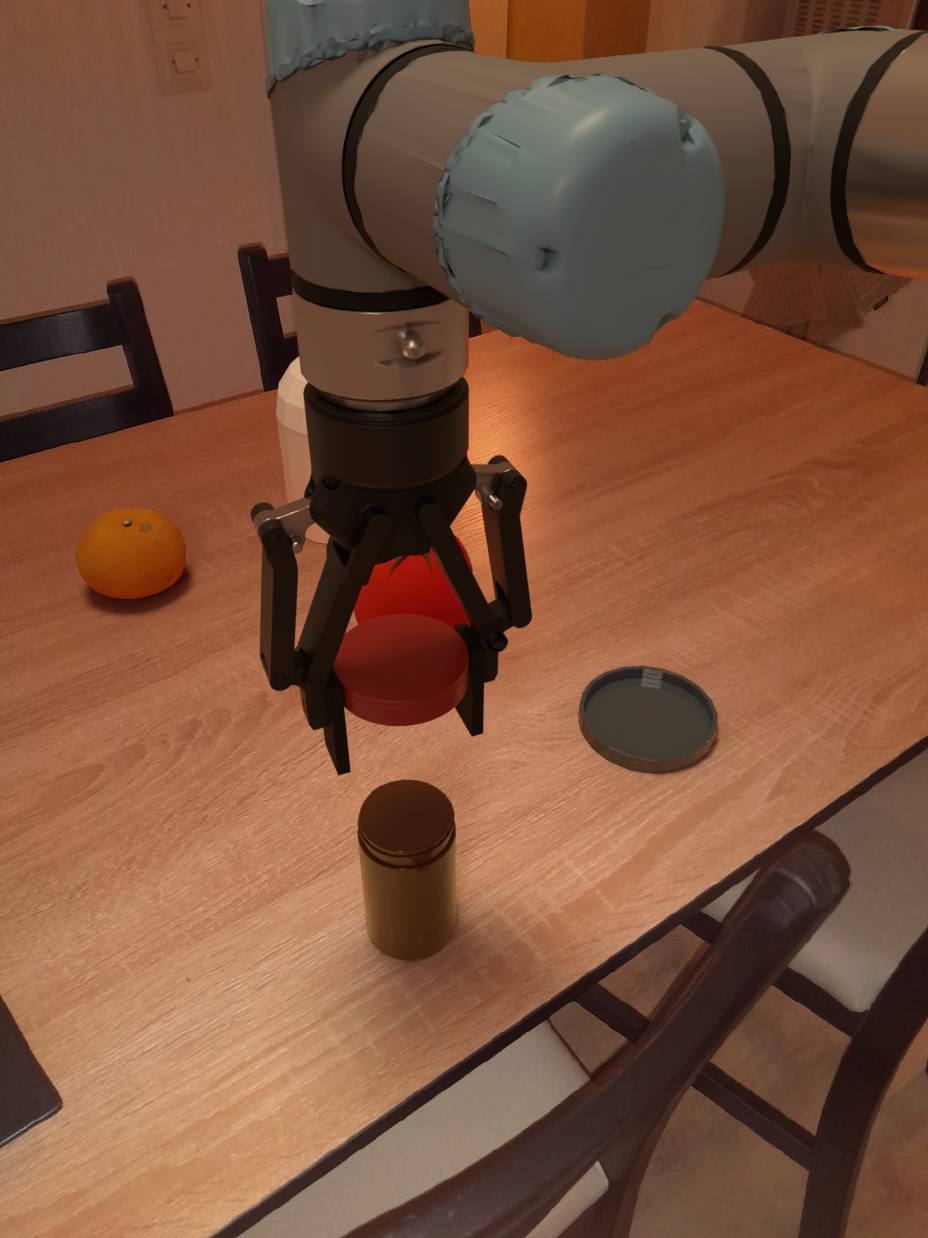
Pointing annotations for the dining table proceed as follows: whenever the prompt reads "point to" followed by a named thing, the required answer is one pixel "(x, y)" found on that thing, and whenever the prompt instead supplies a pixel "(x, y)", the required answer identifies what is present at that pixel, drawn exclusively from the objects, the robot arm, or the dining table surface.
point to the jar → (408, 868)
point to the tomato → (410, 591)
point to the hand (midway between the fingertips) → (404, 738)
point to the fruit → (131, 553)
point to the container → (295, 441)
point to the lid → (402, 669)
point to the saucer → (647, 719)
